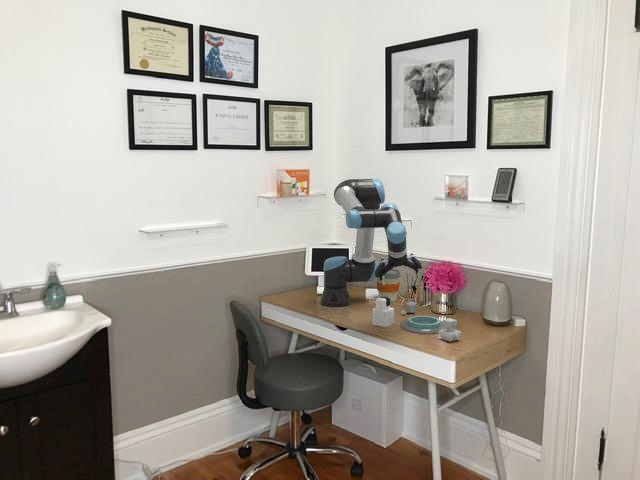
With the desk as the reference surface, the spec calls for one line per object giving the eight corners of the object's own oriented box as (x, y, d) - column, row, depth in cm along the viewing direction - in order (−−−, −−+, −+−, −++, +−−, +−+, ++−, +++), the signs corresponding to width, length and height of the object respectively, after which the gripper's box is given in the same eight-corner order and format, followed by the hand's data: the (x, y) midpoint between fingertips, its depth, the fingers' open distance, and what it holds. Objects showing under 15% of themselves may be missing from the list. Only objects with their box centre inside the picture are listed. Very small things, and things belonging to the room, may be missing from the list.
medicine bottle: (380, 320, 242) (380, 294, 240) (394, 323, 237) (394, 297, 236) (371, 324, 236) (371, 297, 235) (385, 327, 232) (385, 300, 230)
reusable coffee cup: (380, 295, 288) (380, 268, 286) (403, 298, 283) (403, 270, 281) (372, 301, 277) (372, 272, 275) (395, 303, 271) (396, 274, 269)
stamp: (464, 341, 213) (464, 320, 212) (452, 344, 210) (452, 323, 208) (447, 335, 221) (447, 315, 220) (435, 338, 217) (436, 318, 216)
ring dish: (391, 325, 234) (391, 319, 234) (422, 317, 246) (422, 311, 246) (425, 337, 219) (426, 330, 218) (457, 328, 230) (458, 321, 230)
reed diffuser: (411, 310, 259) (412, 269, 256) (423, 312, 254) (424, 271, 251) (398, 314, 252) (399, 272, 249) (410, 317, 247) (411, 274, 244)
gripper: (368, 264, 218) (372, 292, 235) (429, 253, 217) (428, 281, 234) (365, 250, 223) (369, 278, 239) (425, 238, 222) (424, 268, 239)
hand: (398, 280), depth 237 cm, fingers open, 13 cm apart
